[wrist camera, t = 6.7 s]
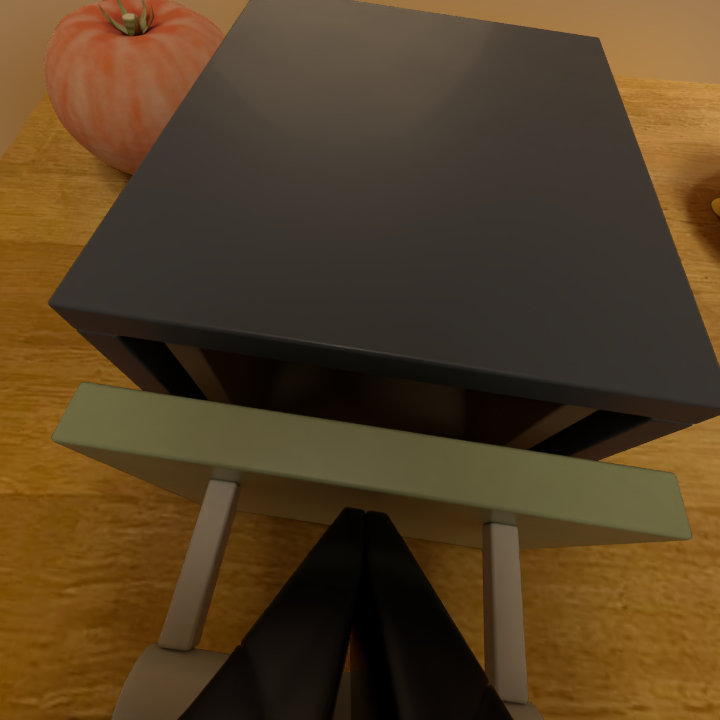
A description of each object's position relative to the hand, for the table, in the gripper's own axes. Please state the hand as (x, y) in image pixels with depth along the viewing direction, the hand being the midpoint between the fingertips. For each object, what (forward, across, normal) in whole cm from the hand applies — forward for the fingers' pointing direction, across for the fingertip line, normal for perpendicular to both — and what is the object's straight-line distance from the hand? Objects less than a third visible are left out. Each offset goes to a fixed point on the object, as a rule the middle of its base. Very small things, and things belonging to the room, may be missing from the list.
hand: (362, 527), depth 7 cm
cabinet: (+13, 0, -1) cm, 13 cm away
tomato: (+22, +15, -9) cm, 28 cm away
